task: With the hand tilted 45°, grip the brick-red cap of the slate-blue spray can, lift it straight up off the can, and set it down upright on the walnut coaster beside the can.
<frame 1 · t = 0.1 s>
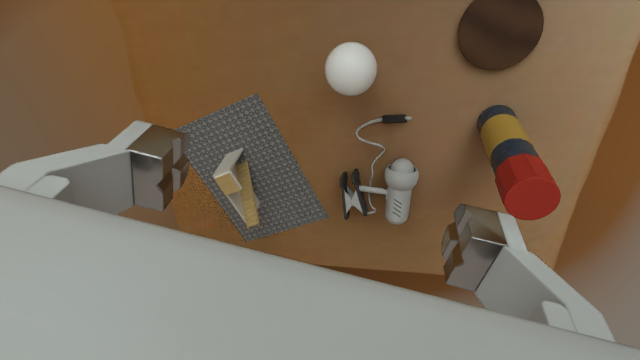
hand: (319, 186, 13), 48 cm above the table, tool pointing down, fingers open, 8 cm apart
model: (251, 175, 72), on the table
lightbulb: (355, 50, 58), on the table
coaster: (499, 29, 54), on the table
spray can: (496, 121, 61), on the table, touching cap
cap: (520, 174, 49), point 14 cm above the table, touching spray can
clip-on lamp: (379, 160, 67), on the table
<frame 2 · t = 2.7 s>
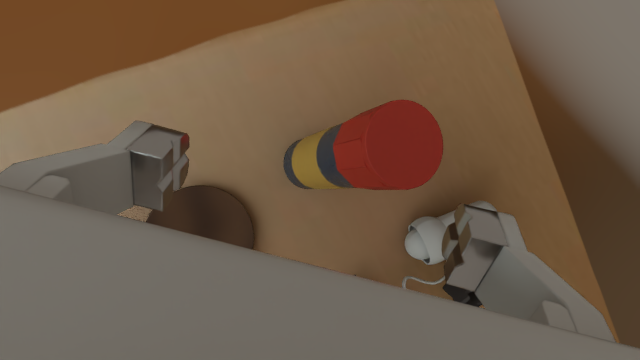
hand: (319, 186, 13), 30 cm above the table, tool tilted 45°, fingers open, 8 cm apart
coaster: (199, 238, 40), on the table
spray can: (307, 163, 44), on the table, touching cap
cap: (368, 151, 31), point 14 cm above the table, touching spray can
clip-on lamp: (420, 266, 48), on the table
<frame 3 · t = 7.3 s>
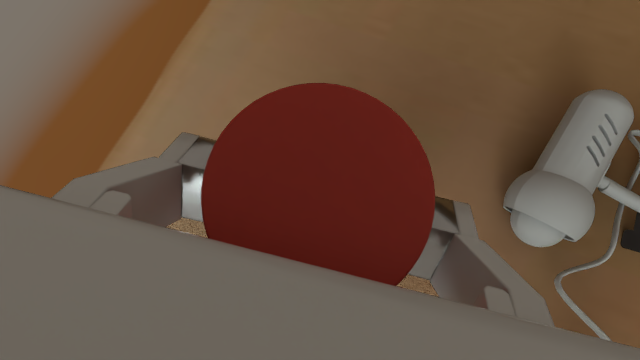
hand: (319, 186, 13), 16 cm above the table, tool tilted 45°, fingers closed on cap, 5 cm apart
cap: (314, 214, 15), point 14 cm above the table, touching gripper, spray can
clip-on lamp: (565, 243, 29), on the table
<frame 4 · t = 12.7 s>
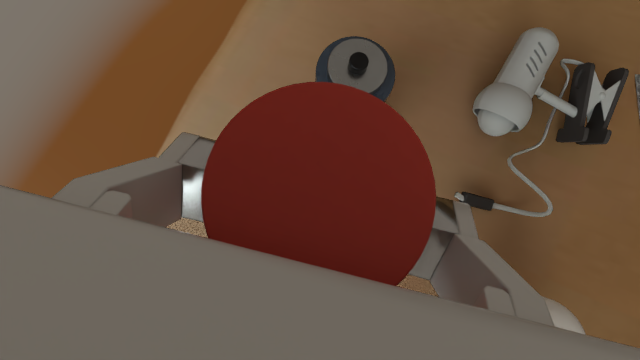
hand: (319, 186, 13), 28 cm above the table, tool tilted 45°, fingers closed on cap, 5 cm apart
lightbulb: (489, 322, 39), on the table
spray can: (338, 133, 41), on the table
cap: (314, 214, 15), point 25 cm above the table, touching gripper
clip-on lamp: (517, 139, 42), on the table
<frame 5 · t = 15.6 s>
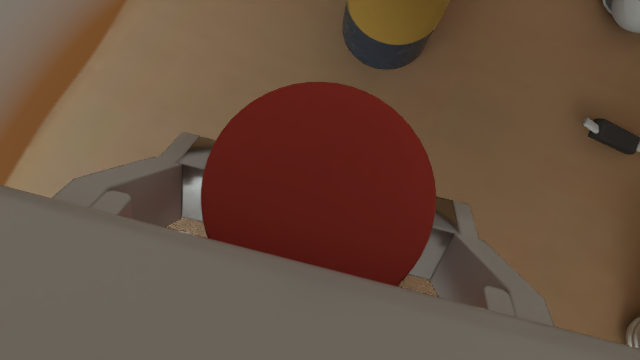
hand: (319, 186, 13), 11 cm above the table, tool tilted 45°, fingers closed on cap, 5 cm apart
lightbulb: (637, 338, 23), on the table
spray can: (384, 29, 26), on the table
cap: (314, 214, 15), point 9 cm above the table, touching gripper
when the fingers open (3 cm above the table, at t = 18.1 s): cap stays where it is, resting on coaster.
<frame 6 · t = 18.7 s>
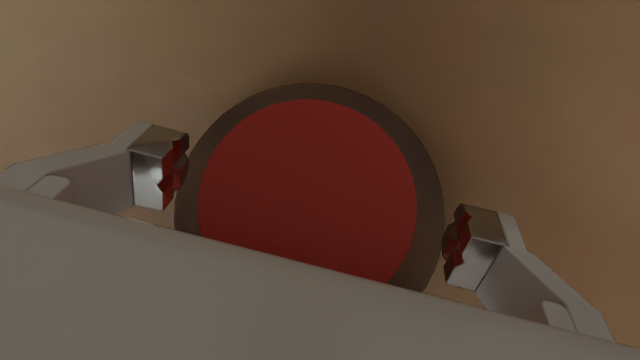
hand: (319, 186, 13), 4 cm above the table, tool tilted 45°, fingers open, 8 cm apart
coaster: (310, 213, 16), on the table
cap: (306, 218, 16), point 1 cm above the table, touching coaster
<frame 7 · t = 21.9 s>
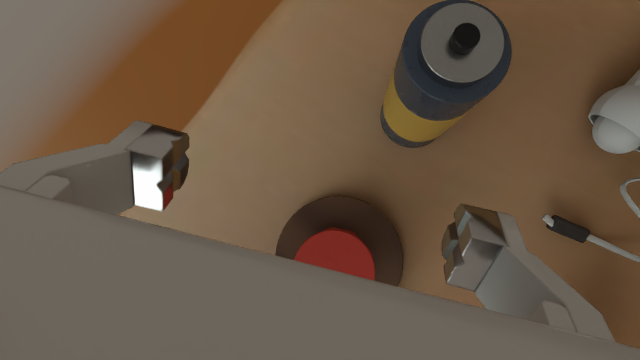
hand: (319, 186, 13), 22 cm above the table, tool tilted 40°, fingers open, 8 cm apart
coaster: (338, 258, 34), on the table
spray can: (412, 116, 34), on the table
cap: (335, 262, 33), point 1 cm above the table, touching coaster
clip-on lamp: (637, 160, 33), on the table
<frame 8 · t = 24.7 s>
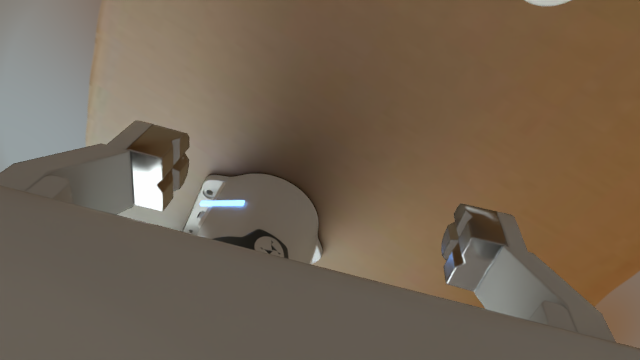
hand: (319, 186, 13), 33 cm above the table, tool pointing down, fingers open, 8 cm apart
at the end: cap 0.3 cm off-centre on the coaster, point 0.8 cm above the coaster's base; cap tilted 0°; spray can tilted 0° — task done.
